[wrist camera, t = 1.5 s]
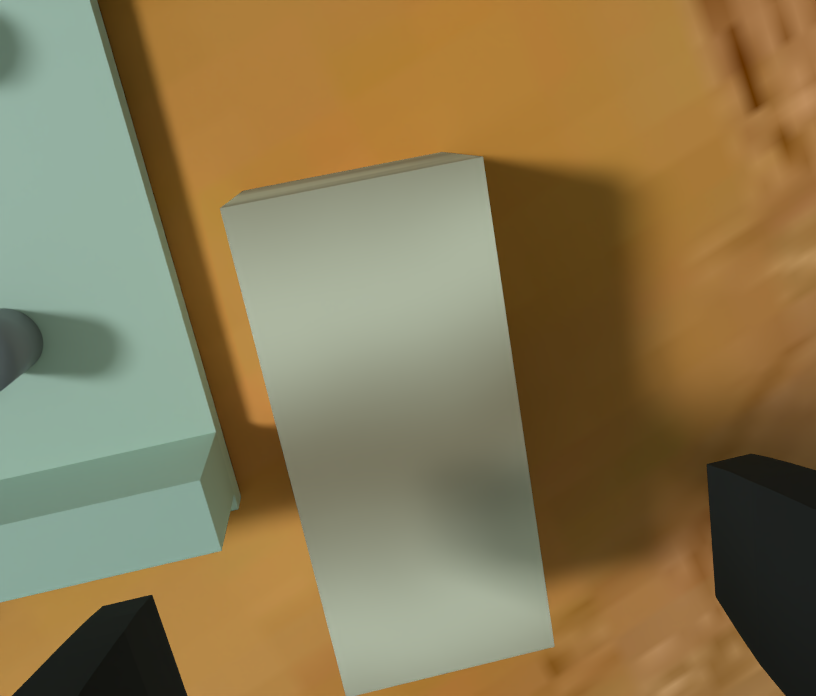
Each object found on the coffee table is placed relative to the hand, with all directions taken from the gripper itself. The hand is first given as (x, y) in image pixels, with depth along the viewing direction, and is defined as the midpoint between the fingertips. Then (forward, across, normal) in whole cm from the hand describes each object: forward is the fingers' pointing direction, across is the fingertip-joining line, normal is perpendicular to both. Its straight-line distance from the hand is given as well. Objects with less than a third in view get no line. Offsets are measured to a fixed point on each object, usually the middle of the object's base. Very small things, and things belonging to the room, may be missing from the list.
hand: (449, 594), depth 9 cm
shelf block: (+8, 0, 0) cm, 9 cm away
